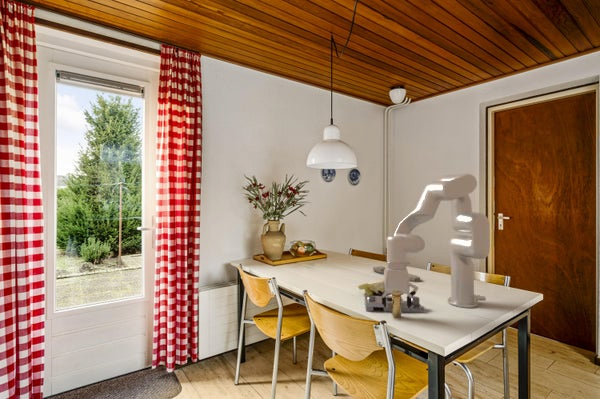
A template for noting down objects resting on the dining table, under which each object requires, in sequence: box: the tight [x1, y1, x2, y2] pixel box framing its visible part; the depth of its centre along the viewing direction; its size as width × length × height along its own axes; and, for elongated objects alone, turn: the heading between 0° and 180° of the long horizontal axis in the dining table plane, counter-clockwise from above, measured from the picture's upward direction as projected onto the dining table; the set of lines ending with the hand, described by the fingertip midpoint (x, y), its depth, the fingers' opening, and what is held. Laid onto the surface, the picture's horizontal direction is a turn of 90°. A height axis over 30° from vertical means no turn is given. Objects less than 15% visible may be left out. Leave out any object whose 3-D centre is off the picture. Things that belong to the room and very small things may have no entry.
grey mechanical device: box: [364, 295, 424, 314], centre depth 144 cm, size 24×9×5 cm, turn 83°
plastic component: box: [357, 280, 391, 296], centre depth 167 cm, size 20×7×10 cm
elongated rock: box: [372, 265, 421, 283], centre depth 202 cm, size 35×5×10 cm
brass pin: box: [389, 292, 404, 319], centre depth 135 cm, size 6×6×11 cm
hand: (396, 306), depth 135 cm, fingers open, 9 cm apart
